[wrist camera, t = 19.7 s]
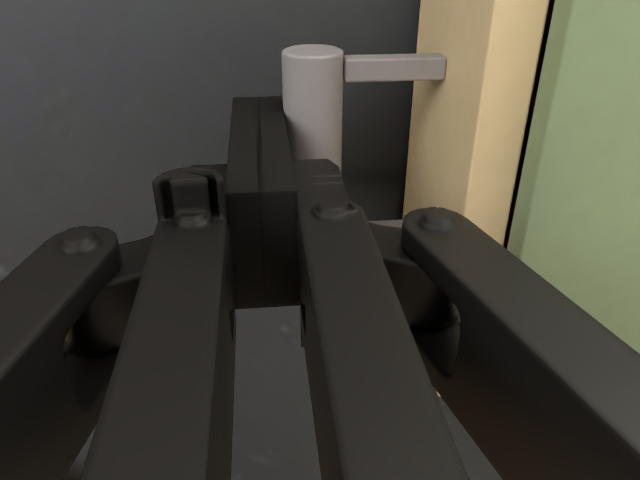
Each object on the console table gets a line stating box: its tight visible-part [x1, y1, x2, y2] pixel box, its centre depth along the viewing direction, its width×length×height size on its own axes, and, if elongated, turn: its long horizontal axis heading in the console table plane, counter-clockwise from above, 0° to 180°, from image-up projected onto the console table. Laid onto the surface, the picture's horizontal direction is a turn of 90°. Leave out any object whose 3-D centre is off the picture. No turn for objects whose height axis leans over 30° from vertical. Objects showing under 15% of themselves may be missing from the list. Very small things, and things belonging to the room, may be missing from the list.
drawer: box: [282, 0, 555, 396], centre depth 17 cm, size 21×13×6 cm, turn 90°
